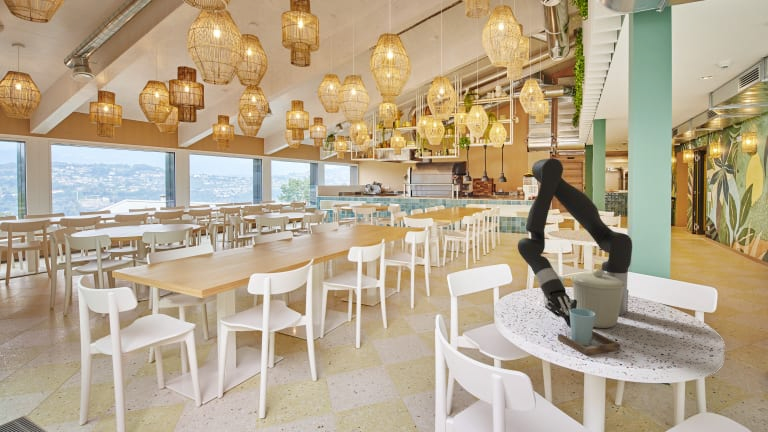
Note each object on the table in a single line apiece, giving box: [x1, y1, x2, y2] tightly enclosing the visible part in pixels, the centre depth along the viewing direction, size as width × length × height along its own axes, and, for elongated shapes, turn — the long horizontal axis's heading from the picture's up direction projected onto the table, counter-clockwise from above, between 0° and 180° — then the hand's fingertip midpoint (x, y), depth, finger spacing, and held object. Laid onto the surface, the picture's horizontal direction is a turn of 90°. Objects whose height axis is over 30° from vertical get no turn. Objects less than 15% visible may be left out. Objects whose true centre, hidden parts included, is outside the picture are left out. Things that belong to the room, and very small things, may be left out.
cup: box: [569, 309, 595, 346], centre depth 124 cm, size 8×8×10 cm
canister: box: [570, 268, 626, 329], centre depth 140 cm, size 18×18×21 cm
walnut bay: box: [557, 331, 621, 356], centre depth 122 cm, size 13×12×2 cm
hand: (573, 326), depth 128 cm, fingers closed
